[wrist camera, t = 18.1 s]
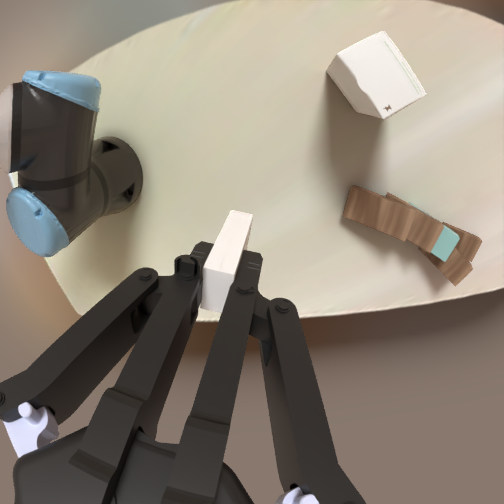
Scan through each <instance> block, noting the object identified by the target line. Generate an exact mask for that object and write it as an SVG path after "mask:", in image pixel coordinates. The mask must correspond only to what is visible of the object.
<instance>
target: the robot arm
mask: <svg viewBox="0 0 504 504" xmlns="http://www.w3.org/2000/svg"><path fill="white" fill-rule="evenodd" d="M22 81H23V82H19V83H13V84H10V85H9V86H8V87H7V88H6V89H5V90H4V91H3V92H2V94H1V95H0V168H1V169H2V170H3V171H4V172H5V173H7V174H8V173H12V172H16V171H18V187H16V188H14V189H12V191H11V192H10V193H9V195H8V198H7V200H6V210H7V215H8V218H9V221H10V223H11V226H12V228H13V230H14V232H15V233H16V235H17V236H18V238H19V239H20V240H21V242H22V243H23V244H24V245H25V246H26V247H27V248H28V249H29V250H31V251H32V252H33V253H35V254H37V255H39V256H42V257H51V256H54V255H55V254H56V253H58V252H59V251H60V250H61V249H63V248H65V247H67V246H68V245H69V244H70V243H71V242H72V241H73V240H74V239H75V238H76V237H78V236H79V235H80V234H81V233H82V232H83V231H84V230H86V229H87V228H88V227H89V226H90V225H91V224H93V223H94V222H95V221H96V220H97V219H98V218H100V217H101V216H105V215H110V214H114V213H118V212H121V211H123V210H125V209H126V208H127V207H129V206H130V205H131V204H132V203H133V202H134V201H135V200H136V199H137V197H138V196H139V193H140V191H141V187H142V169H141V165H140V162H139V159H138V157H137V155H136V154H135V152H134V151H133V149H132V148H131V147H130V146H129V145H128V144H127V143H125V142H124V141H122V140H121V139H118V138H115V137H103V138H100V139H97V140H95V141H93V139H94V133H95V126H96V120H97V115H98V112H99V99H100V93H101V84H100V82H99V80H98V79H97V78H95V77H92V76H87V75H81V74H75V73H66V72H57V71H40V70H39V71H35V70H34V71H33V70H30V71H26V73H25V74H24V76H23V77H22ZM252 219H253V214H248V213H243V212H238V211H234V210H231V212H230V213H229V215H228V217H227V219H226V221H225V223H224V225H223V227H222V230H221V232H220V234H219V236H218V238H217V240H216V242H215V244H212V243H207V242H203V241H201V242H200V243H198V244H197V245H195V247H194V249H193V251H192V252H191V254H190V255H181V256H179V257H177V258H176V259H175V273H174V275H171V276H158V273H157V271H155V270H154V269H152V268H140V269H138V270H136V271H135V272H134V273H132V274H131V275H130V276H129V277H127V278H126V279H125V280H124V281H123V282H121V283H120V284H119V285H118V286H117V287H116V288H114V289H113V290H112V291H111V292H110V293H109V294H107V295H106V296H105V297H104V298H103V299H102V300H100V301H99V302H98V303H97V304H96V305H95V306H94V307H92V308H91V309H90V310H89V311H88V312H87V313H86V314H84V315H83V316H82V317H81V318H80V319H79V320H78V321H77V322H76V323H75V324H74V325H72V326H71V327H70V328H69V329H68V330H67V331H66V332H65V333H64V334H63V335H62V336H60V337H59V339H57V340H56V341H55V342H54V343H53V344H52V345H51V346H50V347H49V348H48V349H47V350H46V351H45V352H44V353H43V354H42V355H41V356H40V357H39V358H38V359H37V360H36V361H35V362H34V363H33V364H32V365H31V366H30V367H29V368H28V369H27V370H25V371H23V372H21V373H19V374H17V375H15V376H13V377H11V378H9V379H7V380H5V381H3V382H1V383H0V419H1V420H2V421H3V422H4V424H5V426H6V429H7V432H8V434H9V437H10V439H11V442H12V444H13V446H14V448H15V450H16V453H17V455H18V457H19V459H18V460H17V461H16V463H15V465H14V468H13V482H14V487H15V503H14V504H254V503H253V501H252V499H251V498H250V496H249V495H248V493H247V492H246V490H245V489H244V487H243V485H242V484H241V482H240V480H239V479H238V477H237V476H236V474H235V473H234V472H233V470H232V469H231V468H230V467H229V466H228V465H226V464H225V463H224V462H223V457H224V453H225V448H226V444H227V439H228V434H229V429H230V422H231V417H232V413H233V408H234V403H235V398H236V393H237V389H238V384H239V379H240V374H241V369H242V365H243V360H244V355H245V350H246V345H247V340H248V335H252V336H253V337H255V338H257V339H259V348H260V355H261V362H262V368H263V375H264V381H265V389H266V395H267V402H268V408H269V416H270V422H271V428H272V435H273V442H274V448H275V455H276V461H277V468H278V473H279V478H280V482H281V484H282V487H283V490H284V492H285V493H284V494H282V495H281V496H280V497H279V498H278V499H277V501H276V503H275V504H366V503H365V501H364V499H363V498H362V496H361V495H360V494H359V492H358V491H357V490H356V488H355V487H354V486H353V484H352V483H351V481H350V480H349V479H348V477H347V476H346V474H345V473H344V471H343V470H342V469H341V467H340V466H339V464H338V461H337V457H336V453H335V449H334V445H333V441H332V437H331V433H330V429H329V425H328V421H327V417H326V413H325V409H324V406H323V402H322V398H321V395H320V391H319V387H318V383H317V380H316V376H315V372H314V369H313V365H312V361H311V358H310V354H309V351H308V348H307V344H306V340H305V337H304V333H303V330H302V326H301V323H300V319H299V316H298V312H297V309H296V307H295V305H294V304H293V303H292V302H291V301H290V300H288V299H285V298H275V299H273V300H271V301H270V300H268V299H266V298H265V297H263V296H262V295H261V294H260V293H259V291H258V282H259V277H260V272H261V266H262V261H263V258H262V256H261V254H260V253H256V252H251V251H247V246H248V240H249V235H250V230H251V224H252ZM200 303H201V307H200V308H202V309H206V310H210V311H214V312H219V313H222V314H221V317H220V320H219V323H218V326H217V329H216V333H215V336H214V339H213V343H212V346H211V349H210V352H209V355H208V359H207V362H206V365H205V368H204V371H203V375H202V378H201V381H200V384H199V388H198V391H197V394H196V397H195V401H194V404H193V407H192V410H191V413H190V415H189V416H188V418H187V420H186V423H185V426H184V430H183V433H182V436H181V440H180V443H179V444H169V443H159V442H157V441H155V438H156V433H157V424H158V421H159V418H160V415H161V413H162V410H163V407H164V404H165V401H166V399H167V396H168V393H169V390H170V388H171V385H172V382H173V379H174V377H175V374H176V371H177V368H178V365H179V363H180V361H181V358H182V355H183V353H184V350H185V347H186V344H187V342H188V339H189V337H190V334H191V331H192V329H193V326H194V324H195V321H196V319H197V316H198V308H199V305H200ZM135 343H136V344H135ZM134 344H135V346H134V348H133V350H132V352H131V354H130V356H129V358H128V360H127V362H126V364H125V366H124V368H123V370H122V372H121V374H120V376H119V378H118V380H117V382H116V384H115V386H114V387H112V388H108V389H107V390H106V391H105V392H104V394H103V395H102V397H101V399H100V402H99V404H98V406H97V408H96V410H95V412H94V414H93V416H92V419H91V421H90V423H89V425H88V426H87V427H84V428H82V429H80V430H78V431H76V432H74V433H72V434H69V435H67V436H65V437H63V438H61V439H59V440H57V441H54V442H52V443H50V442H51V441H52V440H54V439H57V438H58V435H59V432H58V425H59V424H61V423H63V422H64V421H65V420H66V419H68V418H69V417H70V416H71V415H72V414H73V413H74V412H75V411H76V410H77V409H78V407H79V406H80V405H81V404H82V403H83V402H84V400H85V399H86V398H87V397H88V396H89V395H90V393H91V392H92V391H93V390H94V389H95V388H96V387H97V385H98V384H99V383H100V382H101V381H102V380H103V379H104V377H105V376H106V375H107V374H108V373H109V372H110V371H111V370H112V368H113V367H114V366H115V365H116V364H117V363H118V362H119V361H120V360H121V358H122V357H123V356H124V355H125V354H126V353H127V352H128V350H130V348H131V347H132V346H133V345H134Z"/></svg>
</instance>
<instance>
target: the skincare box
mask: <svg viewBox="0 0 504 504" xmlns="http://www.w3.org/2000/svg"><path fill="white" fill-rule="evenodd" d="M326 72H327V73H328V74H329V76H330V77H331V78H332V80H333V81H334V82H335V84H336V85H337V86H338V88H339V89H340V90H341V92H342V93H343V95H344V96H345V97H346V99H347V100H348V102H349V103H350V104H351V106H352V107H353V108H354V110H355V111H356V112H358V113H363V114H367V115H370V116H374V117H378V118H381V119H383V120H385V119H387V118H389V117H390V116H392V115H394V114H395V113H397V112H399V111H400V110H402V109H403V108H405V107H407V106H408V105H410V104H412V103H413V102H415V101H417V100H418V99H420V98H422V97H423V96H425V95H427V94H426V92H425V91H424V89H423V87H422V85H421V84H420V82H419V80H418V79H417V77H416V75H415V74H414V72H413V71H412V69H411V67H410V66H409V64H408V63H407V61H406V60H405V58H404V57H403V55H402V54H401V53H400V51H399V50H398V48H397V47H396V46H395V44H394V43H393V42H392V40H391V39H390V38H389V36H388V35H387V34H386V33H385V31H381V32H379V33H376V34H374V35H372V36H370V37H368V38H365V39H363V40H361V41H359V42H358V43H356V44H354V45H352V46H350V47H348V48H346V49H344V50H343V51H341V52H339V53H337V55H336V56H335V58H334V59H333V61H332V62H331V64H330V65H329V67H328V68H327V70H326Z"/></svg>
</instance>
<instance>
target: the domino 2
mask: <svg viewBox="0 0 504 504" xmlns="http://www.w3.org/2000/svg"><path fill="white" fill-rule="evenodd" d="M386 197H387V198H389V199H392V200H394V201H397V202H399V203H402V204H404V205H407V206H409V207H411V208H414V209H416V214H415V216H414V219H413V222H412V225H411V227H410V230H409V233H408V235H407V238H406V239H407V240H409V241H411V242H412V243H414V244H416V245H417V246H419V247H421V248H422V249H424V250H426V251H427V252H429V253H430V252H431V251H432V249H433V247H434V245H435V244H436V242H437V240H438V238H439V236H440V234H441V232H442V231H443V229H444V225H443V223H441V222H439V221H438V220H436V219H434V218H433V217H431V216H429V215H428V214H426V213H424V212H423V211H421V210H419V209H417V208H416V207H414V206H412V205H410V204H409V203H407V202H405V201H403V200H401V199H399V198H398V197H396V196H394V195H392V194H390V193H387V195H386Z"/></svg>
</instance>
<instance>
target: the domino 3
mask: <svg viewBox="0 0 504 504" xmlns="http://www.w3.org/2000/svg"><path fill="white" fill-rule="evenodd" d="M443 225H445V226H446V227H448V228H449V229H451V230H452V231H454V232H455V233H456V234H458V236H459V238H460V239H459V241H458V243H457V244H456V246H455V247H456V248H457V249H458V250H459V251H460V252H461V253H462V254H463V255H464V256H465V258H466V259H467V260H468V261H471V262H472V260H473V258H474V256H475V254H476V253H477V251H478V249H479V247H480V245H481V243H482V240H481V239H480V238H479V237H477V236H475V235H473V234H470V233H468V232H466V231H463V230H461V229H459V228H456V227H454V226H452V225H449V224H447V223H444V222H443Z"/></svg>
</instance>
